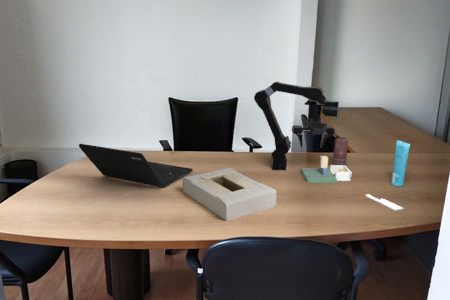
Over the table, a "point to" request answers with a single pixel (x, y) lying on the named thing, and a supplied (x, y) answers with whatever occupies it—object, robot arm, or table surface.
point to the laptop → (132, 166)
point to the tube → (400, 163)
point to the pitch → (318, 176)
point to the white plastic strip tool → (386, 203)
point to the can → (340, 151)
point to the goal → (341, 175)
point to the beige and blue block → (323, 164)
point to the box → (229, 193)
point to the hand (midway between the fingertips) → (311, 147)
